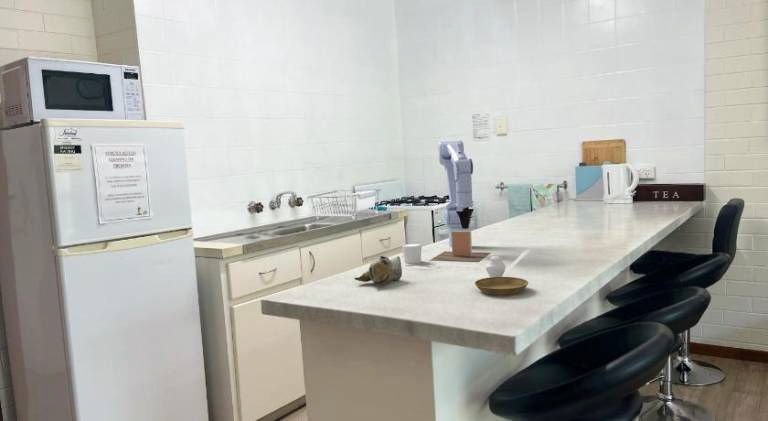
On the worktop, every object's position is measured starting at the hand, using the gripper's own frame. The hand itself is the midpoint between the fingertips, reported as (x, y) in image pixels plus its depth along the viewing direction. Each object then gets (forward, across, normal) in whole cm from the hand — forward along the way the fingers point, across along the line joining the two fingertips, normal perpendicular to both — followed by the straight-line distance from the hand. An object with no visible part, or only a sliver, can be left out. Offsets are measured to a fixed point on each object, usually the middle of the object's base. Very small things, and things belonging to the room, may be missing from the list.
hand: (465, 228), depth 220 cm
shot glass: (+10, +20, -14) cm, 26 cm away
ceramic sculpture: (+10, +48, -13) cm, 50 cm away
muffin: (+10, +34, +19) cm, 41 cm away
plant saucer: (+11, +50, +24) cm, 56 cm away
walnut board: (+10, +8, 0) cm, 13 cm away
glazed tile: (+9, +6, 0) cm, 11 cm away
